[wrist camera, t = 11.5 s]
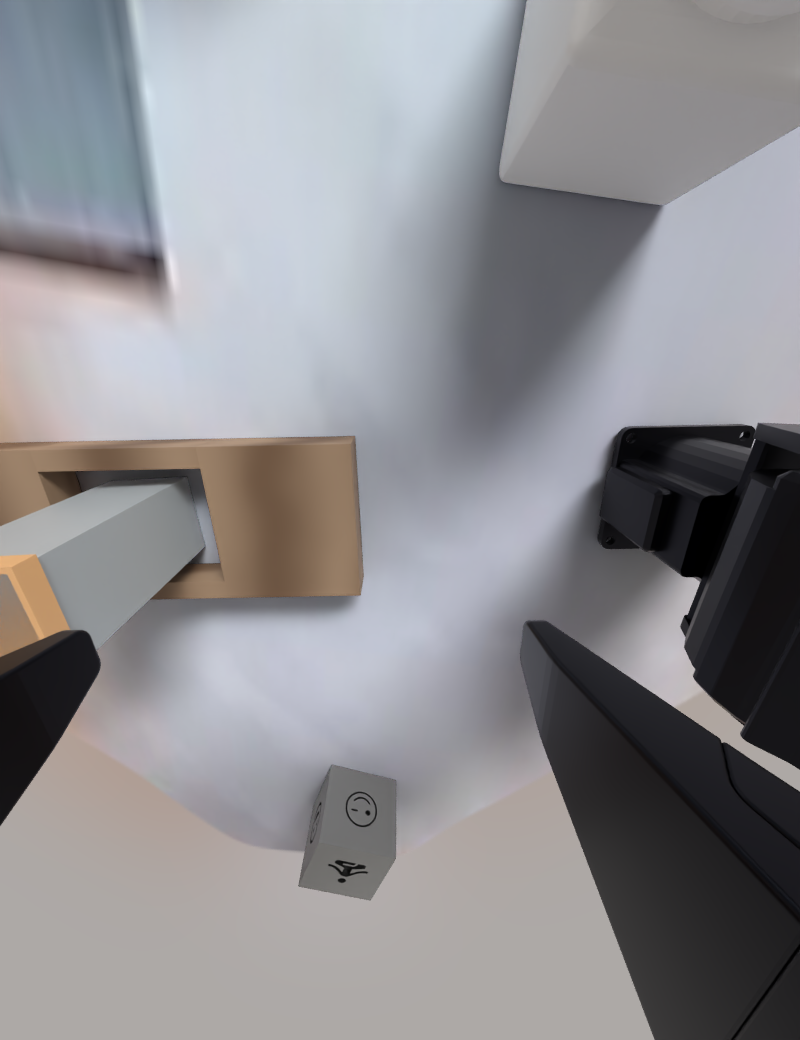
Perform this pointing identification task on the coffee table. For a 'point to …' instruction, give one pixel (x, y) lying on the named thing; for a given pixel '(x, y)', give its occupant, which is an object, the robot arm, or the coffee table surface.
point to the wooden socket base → (226, 506)
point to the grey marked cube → (351, 834)
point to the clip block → (93, 559)
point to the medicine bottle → (648, 93)
